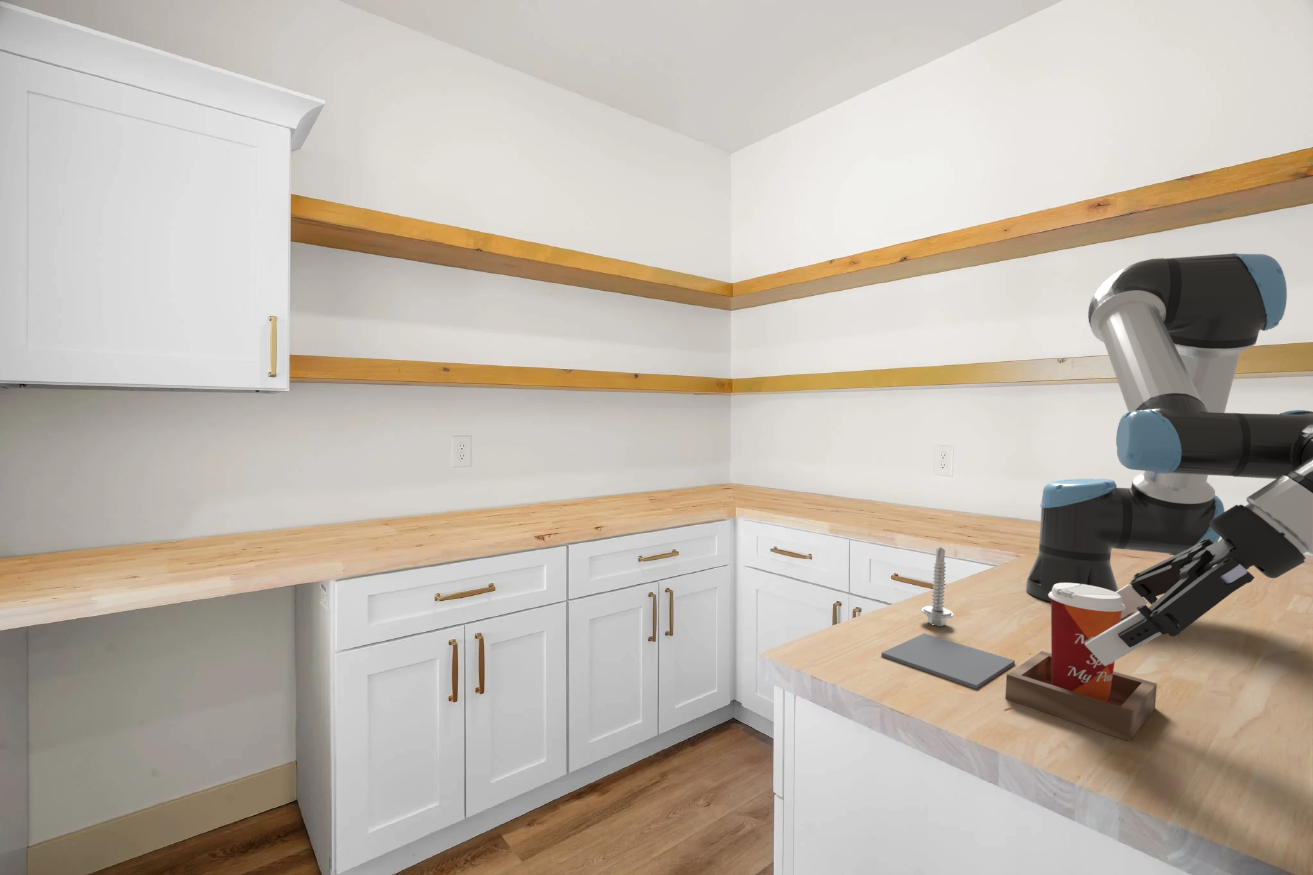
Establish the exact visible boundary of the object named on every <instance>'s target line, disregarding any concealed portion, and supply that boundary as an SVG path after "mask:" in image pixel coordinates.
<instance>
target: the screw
mask: <svg viewBox="0 0 1313 875" xmlns="http://www.w3.org/2000/svg"><path fill="white" fill-rule="evenodd" d="M945 554H946V550H945V548H943V547H942V546H940V547H938V548H936V552H935V563H934V567H933V581H932V583H933V584H932V586H933V587H932V588H931V589H932V590H933V591H932V595H931V596H932V598H931V599H932V601H931V603H932V605H926V606H923V607H922V608H921V613H922V614H923V615H925V616H926V617H927V621H928V622H929V623H930V625H931V624H934V625H937V626H936V627H939V626H942V627H944V626H943V625H945V624H946V625H947V620H948V619H952V618H953V617H954V613H953V612H952V611H951V610H950V609H948V608H946V607H945V606H944V603H945V601H944V600H945V597H944V596H945V590H946V587H945V586H946V584H945V583H946V580H945V579H946V576H945V575H946V573H945V572H946V568H947V567H946V562H945V557H946V555H945ZM928 622H927V623H928ZM929 623H928V624H929ZM946 625H945V626H946Z"/></svg>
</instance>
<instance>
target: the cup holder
mask: <svg viewBox="0 0 1313 875" xmlns="http://www.w3.org/2000/svg"><path fill="white" fill-rule="evenodd" d="M1046 679H1050V680H1052V657H1051V653H1050V652H1047V651H1043V650H1041V651H1039V652H1038V653H1037V654H1035V655H1033V656H1031V657H1030V658H1029V659H1028V660H1026V661H1025V662H1023V663H1021V664H1020V665H1018V666H1017V667H1016V668H1014V669H1012V670H1011V671H1009V673H1007V674H1006V680H1005V696H1004V697H1005V699H1006V700H1009V701H1012V702H1015V703H1018V704H1020V705H1024V706H1027V707H1029V708H1032V709H1035V710H1039V711H1041V712H1044V713H1047V714H1050V715H1052V716H1055V717H1059V718H1060V719H1064V720H1067V721H1070V722H1072V723H1076V724H1078V725H1081V726H1084V727H1087V728H1090V729H1092V730H1096V731H1099V732H1102V733H1104V734H1107V735H1110V736H1113V737H1116V738H1119V739H1122V740H1125V741H1128V742H1130V741H1131V740H1132V738H1133V737H1134V736H1135V735H1136V733H1137V732H1138V731H1139V729H1140V728H1141V727H1142V725H1144V722H1146V720H1147V719H1148V718H1149V717H1150V715H1151V714H1152V712H1154V710H1155V709H1156V701H1157V700H1156V698H1157V687H1158V683H1157V682H1153V681H1150V680H1149V681H1148V680H1145V679H1142V678H1138V677H1135V676H1133V675H1132V676H1131V675H1128V674H1124V673H1121V672H1118V671H1114V670H1113V677H1112V684H1111V690H1110V697H1109V699H1113V700H1116V701H1117V700H1118V701H1121V702H1123V703H1122V704H1121V705H1120V706H1119V705H1116V704H1113V703H1110V702H1109V703H1107V702H1104V701H1101V700H1098V699H1095V698H1091V697H1088V696H1085V695H1082V694H1079V693H1076V692H1072V691H1069V690H1066V689H1063V688H1060V687H1057V686H1053V685H1052V684H1050V683H1047V682H1044V681H1045V680H1046Z"/></svg>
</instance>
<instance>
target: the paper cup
mask: <svg viewBox="0 0 1313 875" xmlns="http://www.w3.org/2000/svg"><path fill="white" fill-rule="evenodd" d="M1048 596H1049V597H1050V598H1051V602H1050V605H1051V607H1050V609H1051V610H1050V611H1051V613H1050V614H1051V616H1050V618H1051V619H1050V620H1051V621H1050V622H1051V623H1050V624H1051V628H1050V629H1051V632H1050V633H1051V639H1050V640H1051V643H1050V644H1051V646H1050V647H1051V648H1050V649H1051V653H1050V654H1051V657H1052V679H1051V685H1053V686H1057V687H1060V688H1063V689H1066V690H1069V691H1072V692H1076V693H1079V694H1082V695H1085V696H1088V697H1091V698H1095V699H1098V700H1101V701H1104V702H1107V703H1110V690H1111V684H1112V677H1113V671H1114V670H1115V669H1114V668H1115V661H1116V660H1115V661H1114V662H1112V663H1110V664H1108V665H1107V666H1104V665H1103V664H1102V663H1101V661H1100V660H1099V659H1098V658H1097V657H1096V656H1095V655H1094V654H1093V653H1092V652H1091V651H1090V650H1089V649H1088V648H1087V647H1086V646H1085V643H1086V642H1087V641H1089V640H1091V639H1092V638H1094V637H1096V636H1098V635H1099V634H1101V633H1103V632H1104V631H1106V630H1108V629H1109V628H1111V627H1113V626H1114V625H1116V624H1118V623H1120V622H1121V621H1122V619H1121V612H1122V610H1125V605H1124V604H1123V603H1122V598H1121V596H1120V595H1119V594H1118V593H1116V592H1114V591H1111V590H1108V589H1104V588H1100V587H1096V586H1091V585H1085V584H1077V583H1057V584H1054V586H1053V588H1052V591H1051V592H1050V593H1049V594H1048Z"/></svg>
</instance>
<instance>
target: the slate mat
mask: <svg viewBox="0 0 1313 875" xmlns="http://www.w3.org/2000/svg"><path fill="white" fill-rule="evenodd" d="M881 657H883V658H885V659H886V658H887V659H888V660H892V661H894V662H897V663H900V664H903V665H906V666H909V667H912V668H914V669H917V670H920V671H923V672H925V673H929V674H932V675H935V676H938V677H940V678H943V679H945V680H949V681H952V682H954V683H958V684H961V685H964V686H966V687H969V688H971V689H975V690H977V689H979V688H980V687H982V686H983V685H985V684H986V683H988V682H989V681H991V680H993V679H994V678H995V677H997V676H999V675H1000V674H1002V673H1003V672H1005V671H1006V670H1008V669H1010V668H1011V667H1012V666H1014V665H1015V664H1016V663H1015V661H1016V660H1015V659H1012V658H1008V657H1004V656H1001V655H998V654H994V653H991V652H988V651H984V650H981V649H978V648H975V647H971V646H968V645H964V644H961V643H958V642H955V641H951V640H949V639H946V638H945V639H944V638H941V637H938V636H935V635H931V634H929V633H926V632H924V633H922V634H919V635H917V636H915V637H913V638H910V639H908V640H906V641H905V642H902V643H899V644H896V645H895V646H893V647H891V648H889V649H886V650H883V651H882V652H881Z"/></svg>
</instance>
